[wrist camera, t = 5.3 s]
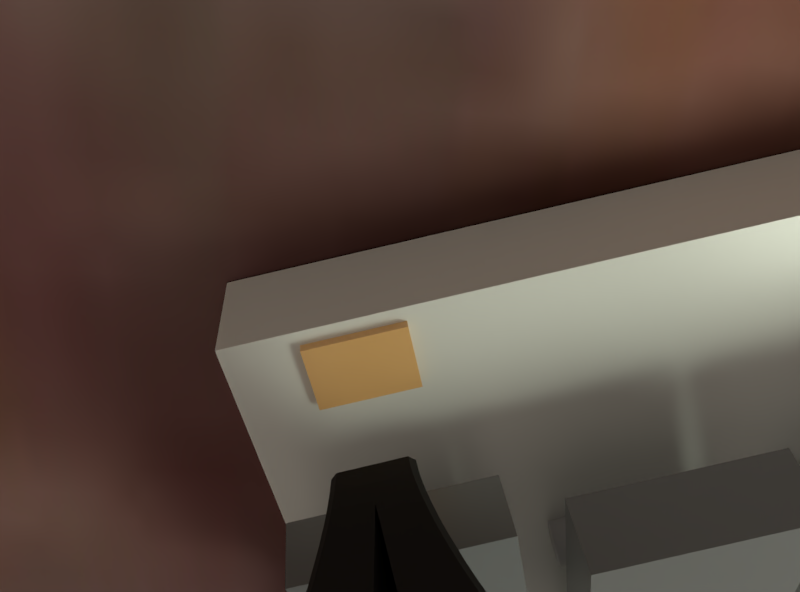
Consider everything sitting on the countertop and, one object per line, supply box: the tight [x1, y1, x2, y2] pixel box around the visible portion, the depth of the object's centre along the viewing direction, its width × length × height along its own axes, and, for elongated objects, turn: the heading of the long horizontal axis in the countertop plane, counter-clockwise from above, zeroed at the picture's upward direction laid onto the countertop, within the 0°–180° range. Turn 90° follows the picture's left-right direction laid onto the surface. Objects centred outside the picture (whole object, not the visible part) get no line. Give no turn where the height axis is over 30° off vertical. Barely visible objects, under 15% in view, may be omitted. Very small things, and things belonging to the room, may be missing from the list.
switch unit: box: [215, 150, 800, 592], centre depth 18 cm, size 15×13×4 cm
